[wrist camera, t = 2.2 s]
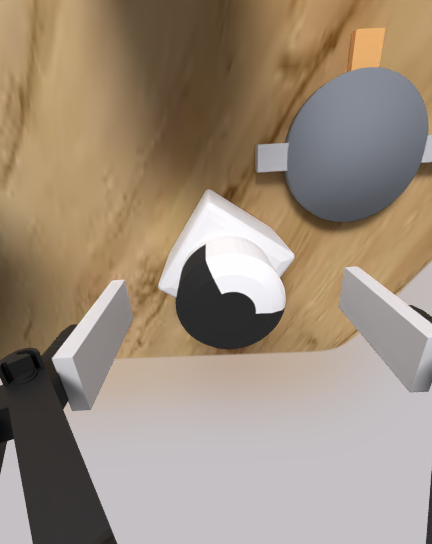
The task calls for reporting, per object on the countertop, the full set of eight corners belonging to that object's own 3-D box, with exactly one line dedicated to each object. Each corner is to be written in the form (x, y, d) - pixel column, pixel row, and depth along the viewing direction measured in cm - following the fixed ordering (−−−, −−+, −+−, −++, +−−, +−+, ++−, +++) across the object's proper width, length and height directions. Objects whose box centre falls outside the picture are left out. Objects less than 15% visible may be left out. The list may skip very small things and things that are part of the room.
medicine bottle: (231, 288, 27) (249, 381, 16) (168, 254, 25) (140, 333, 14) (273, 228, 25) (328, 291, 14) (207, 186, 23) (208, 219, 12)
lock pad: (254, 223, 24) (257, 227, 23) (256, 37, 19) (259, 31, 18) (424, 213, 24) (434, 216, 23) (475, 26, 19) (491, 18, 18)
